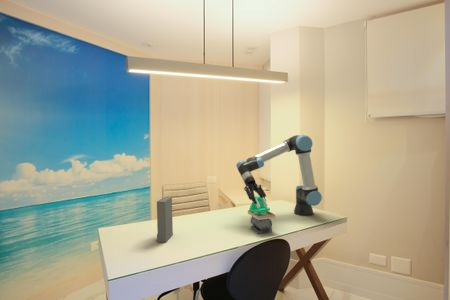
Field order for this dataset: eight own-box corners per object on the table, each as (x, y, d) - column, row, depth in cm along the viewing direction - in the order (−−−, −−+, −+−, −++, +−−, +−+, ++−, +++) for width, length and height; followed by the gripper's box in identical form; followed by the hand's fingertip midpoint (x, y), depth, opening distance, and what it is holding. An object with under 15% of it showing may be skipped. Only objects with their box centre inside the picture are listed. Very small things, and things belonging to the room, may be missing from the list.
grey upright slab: (163, 234, 180) (163, 196, 179) (173, 234, 179) (172, 196, 178) (156, 242, 166) (155, 201, 165) (166, 242, 165) (165, 201, 164)
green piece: (256, 214, 179) (255, 199, 179) (249, 212, 186) (249, 197, 186) (270, 212, 185) (270, 196, 185) (263, 209, 192) (263, 195, 192)
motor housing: (263, 225, 195) (263, 208, 194) (275, 232, 180) (275, 214, 179) (248, 227, 191) (247, 210, 190) (258, 235, 176) (258, 216, 175)
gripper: (256, 181, 203) (271, 208, 190) (235, 183, 194) (249, 211, 181) (261, 175, 198) (276, 202, 185) (239, 177, 189) (253, 205, 176)
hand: (262, 206), depth 183 cm, fingers open, 5 cm apart
